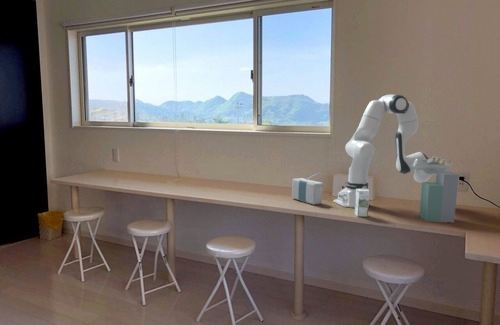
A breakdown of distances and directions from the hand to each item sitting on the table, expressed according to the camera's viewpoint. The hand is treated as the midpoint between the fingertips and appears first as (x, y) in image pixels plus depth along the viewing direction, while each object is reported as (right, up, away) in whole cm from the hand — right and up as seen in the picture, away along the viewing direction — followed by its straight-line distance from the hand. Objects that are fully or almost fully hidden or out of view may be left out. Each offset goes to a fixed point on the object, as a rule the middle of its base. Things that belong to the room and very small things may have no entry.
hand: (437, 158), depth 222 cm
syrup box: (-44, -31, -5) cm, 54 cm away
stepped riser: (-5, -32, -10) cm, 34 cm away
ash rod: (0, -2, -5) cm, 6 cm away
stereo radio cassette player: (-68, -26, +27) cm, 78 cm away
